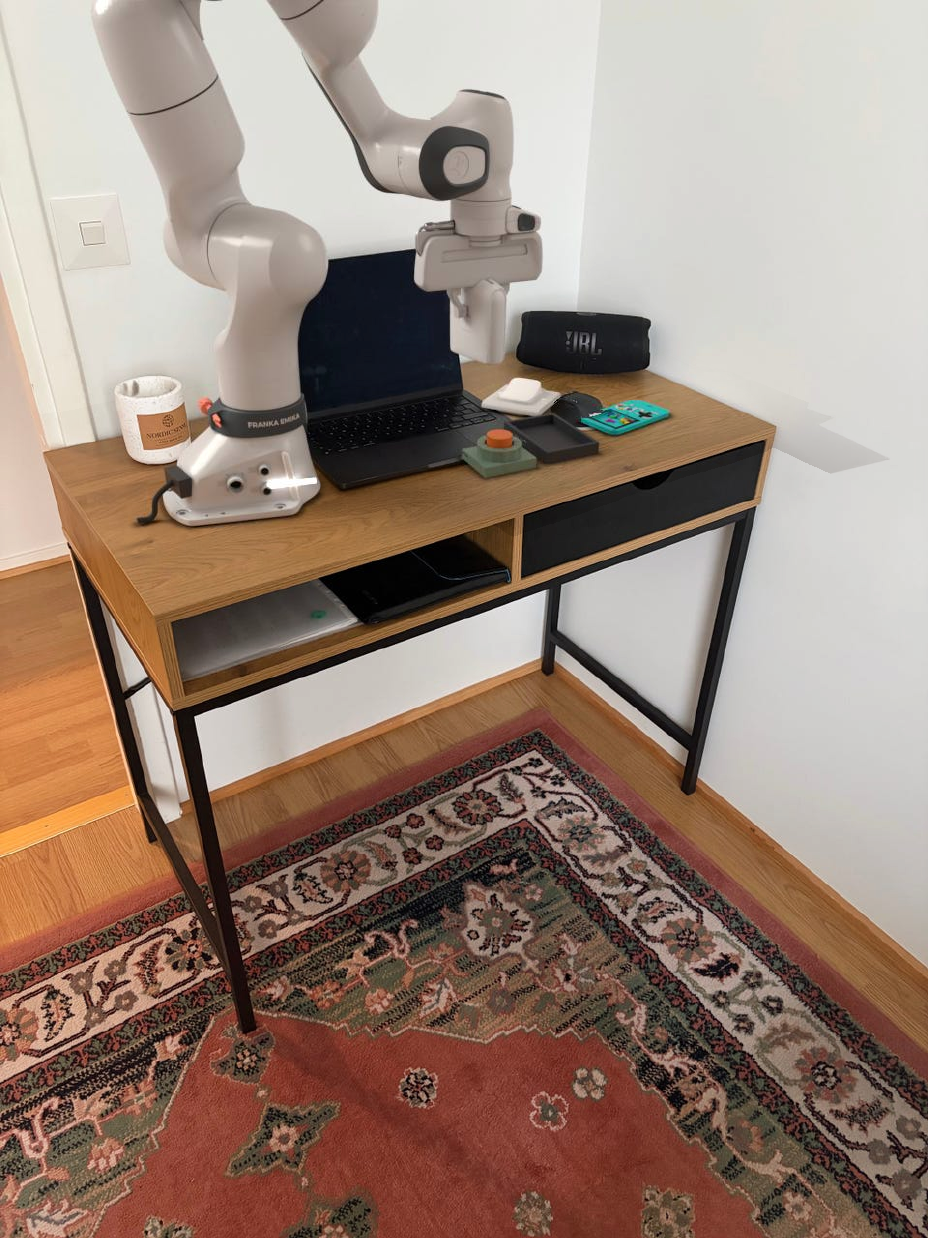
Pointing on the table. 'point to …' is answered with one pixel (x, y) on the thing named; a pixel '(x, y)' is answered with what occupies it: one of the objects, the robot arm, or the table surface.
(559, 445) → the tray
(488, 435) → the button
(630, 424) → the handheld gaming console
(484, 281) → the photo printer
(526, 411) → the light switch
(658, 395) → the table surface
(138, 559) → the table surface
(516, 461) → the button housing
